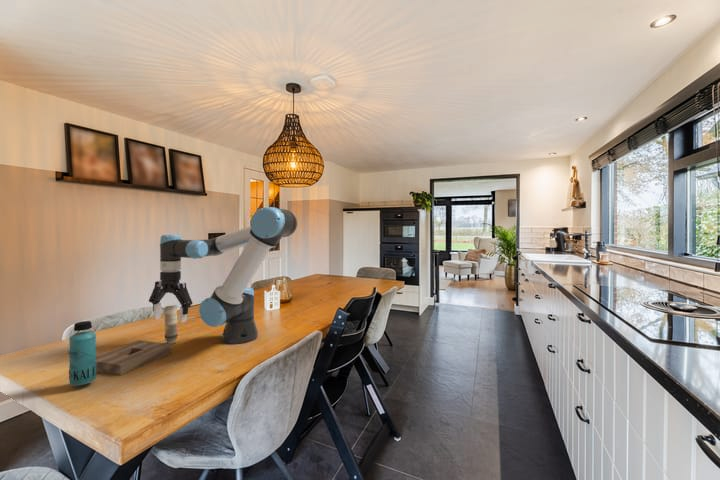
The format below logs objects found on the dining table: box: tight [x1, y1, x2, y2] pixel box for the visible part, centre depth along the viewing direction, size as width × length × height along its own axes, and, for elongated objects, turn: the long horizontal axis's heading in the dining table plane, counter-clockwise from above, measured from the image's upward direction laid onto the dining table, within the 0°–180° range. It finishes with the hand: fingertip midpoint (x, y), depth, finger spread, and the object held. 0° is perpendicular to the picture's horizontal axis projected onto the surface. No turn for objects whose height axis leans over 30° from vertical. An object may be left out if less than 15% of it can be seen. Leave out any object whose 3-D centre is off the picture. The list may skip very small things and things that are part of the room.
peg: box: [164, 304, 178, 346], centre depth 131 cm, size 5×5×16 cm
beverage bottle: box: [68, 320, 98, 387], centre depth 95 cm, size 6×7×20 cm
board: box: [96, 340, 172, 376], centre depth 114 cm, size 16×20×4 cm
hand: (170, 320), depth 131 cm, fingers open, 13 cm apart
